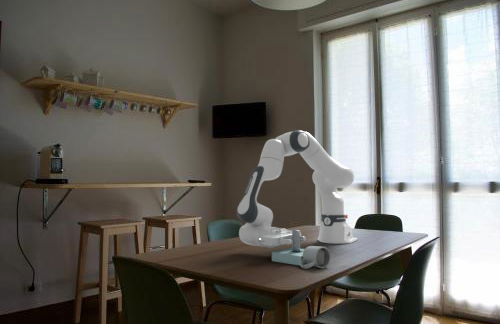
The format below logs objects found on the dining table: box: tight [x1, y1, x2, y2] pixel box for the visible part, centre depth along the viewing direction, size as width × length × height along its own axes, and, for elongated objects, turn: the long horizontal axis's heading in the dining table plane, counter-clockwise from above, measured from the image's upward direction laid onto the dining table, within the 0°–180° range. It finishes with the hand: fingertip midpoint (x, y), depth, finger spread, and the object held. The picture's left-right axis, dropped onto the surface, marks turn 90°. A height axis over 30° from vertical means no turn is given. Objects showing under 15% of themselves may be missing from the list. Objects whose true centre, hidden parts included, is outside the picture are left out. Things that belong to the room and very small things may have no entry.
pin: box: [291, 229, 301, 253], centre depth 155 cm, size 3×3×12 cm
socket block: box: [271, 247, 306, 267], centre depth 154 cm, size 14×14×4 cm
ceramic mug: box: [300, 245, 331, 270], centre depth 143 cm, size 11×8×8 cm
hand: (298, 240), depth 154 cm, fingers open, 8 cm apart
